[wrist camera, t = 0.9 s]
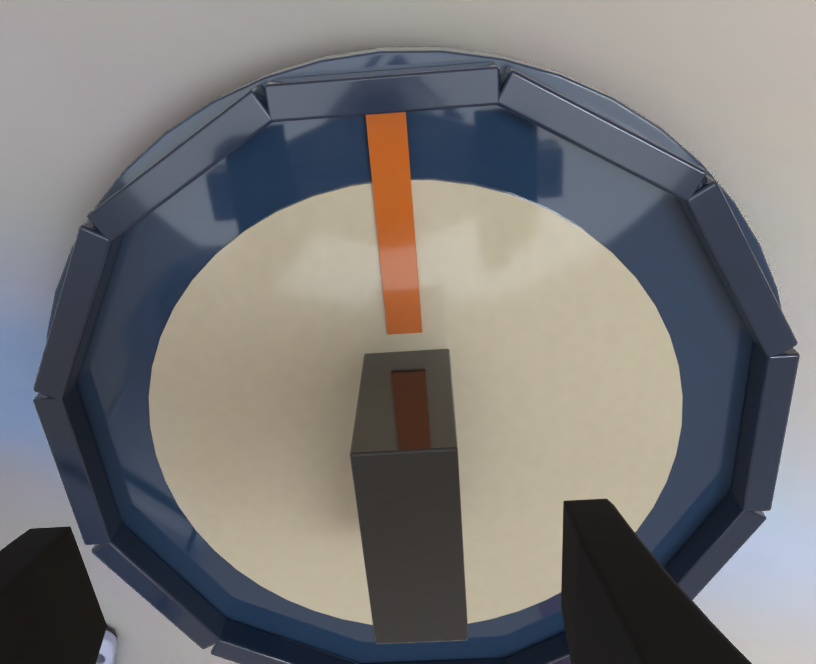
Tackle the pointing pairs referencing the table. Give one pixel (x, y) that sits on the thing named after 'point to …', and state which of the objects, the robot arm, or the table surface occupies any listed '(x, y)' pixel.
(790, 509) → the table surface
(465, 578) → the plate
